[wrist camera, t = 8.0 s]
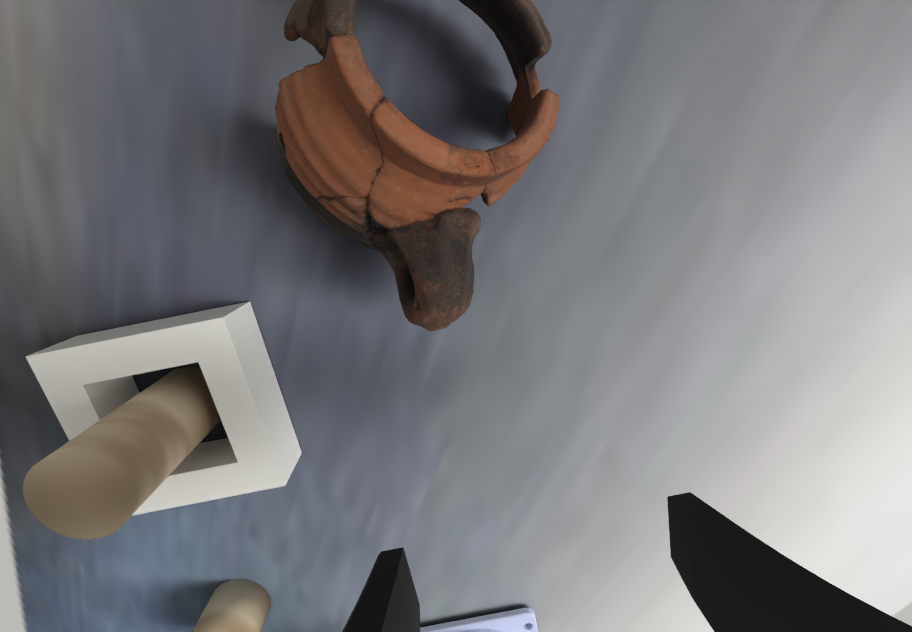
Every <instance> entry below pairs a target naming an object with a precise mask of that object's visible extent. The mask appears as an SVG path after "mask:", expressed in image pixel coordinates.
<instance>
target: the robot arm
mask: <svg viewBox="0 0 912 632" xmlns="http://www.w3.org/2000/svg"><path fill="white" fill-rule="evenodd" d="M668 514H669V531H670V548H671V558H672V560H673V562H674V564H675V566H676V568H677V570H678V572H679V573H680V575H681V577H682V579H683V581H684V583H685V585H686V587H687V589H688V591H689V592H690V594H691V596H692V598H693V599H694V601H695V603H696V604H697V606H698V607H699V609H700V610H701V612H702V613H703V615H704V616H705V618H706V619H707V621H708V623H709V624H710V626H711V627H712V629H713V630H714V632H912V626H910V625H908V624H906V623H904V622H902V621H899V620H898V619H896V618H894V617H892V616H890V615H888V614H886V613H884V612H882V611H880V610H878V609H876V608H875V607H873V606H871V605H869V604H867V603H865V602H863V601H861V600H859V599H858V598H856V597H854V596H852V595H850V594H848V593H846V592H845V591H843V590H841V589H839V588H837V587H836V586H834V585H832V584H830V583H829V582H827V581H825V580H823V579H822V578H820V577H818V576H817V575H815V574H813V573H812V572H810V571H808V570H807V569H805V568H803V567H802V566H800V565H798V564H797V563H795V562H793V561H792V560H790V559H789V558H787V557H785V556H784V555H782V554H781V553H779V552H777V551H776V550H774V549H773V548H771V547H770V546H768V545H767V544H765V543H764V542H762V541H761V540H759V539H757V538H756V537H754V536H753V535H751V534H750V533H748V532H747V531H745V530H744V529H743V528H741V527H740V526H738V525H737V524H735V523H734V522H732V521H731V520H729V519H728V518H726V517H725V516H724V515H722V514H721V513H719V512H718V511H716V510H715V509H713V508H712V507H711V506H709V505H708V504H706V503H705V502H703V501H702V500H700V499H699V498H698V497H696V496H695V495H693V494H692V493H690V492H689V493H684V494H679V495H674V496H669V497H668ZM343 632H538V629H537V623H536V618H535V613H534V611H533V610H532V609H530V608H521V609H515V610H510V611H505V612H500V613H494V614H489V615H484V616H479V617H473V618H468V619H463V620H458V621H452V622H447V623H442V624H437V625H431V626H426V627H421V628H420V605H419V601H418V598H417V594H416V591H415V587H414V584H413V580H412V577H411V573H410V569H409V566H408V562H407V559H406V555H405V552H404V548H398V549H393V550H387V551H382V552H381V553H380V554H379V555H378V557H377V559H376V562H375V564H374V567H373V569H372V571H371V573H370V576H369V578H368V580H367V582H366V584H365V587H364V589H363V591H362V593H361V595H360V597H359V599H358V602H357V604H356V606H355V608H354V610H353V612H352V614H351V616H350V618H349V620H348V622H347V624H346V626H345V628H344V630H343Z"/></svg>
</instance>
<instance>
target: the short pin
mask: <svg viewBox="0 0 912 632" xmlns="http://www.w3.org/2000/svg"><path fill="white" fill-rule="evenodd" d="M270 606H271V599H270V596H269V594H268V592H267V591H266V590H265V589H264V588H263V587H262V586H261V585H259V584H257V583H255V582H253V581H250V580H246V579H233V580H228V581H226V582H224V583H222V584H220V585H219V586H218V587H217V588H216V589H215V591H214V593H213V594H212V596H211V598H210V600H209V602H208V603H207V605H206V607H205V609H204V611H203V612H202V614H201V616H200V618H199V620H198V622H197V623H196V625H195V627H194V629H193V631H192V632H261V630H262V627H263V625H264V622H265V620H266V617H267V614H268V612H269V609H270Z"/></svg>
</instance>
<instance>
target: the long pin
mask: <svg viewBox="0 0 912 632" xmlns="http://www.w3.org/2000/svg"><path fill="white" fill-rule="evenodd" d="M220 420H221V418H220V416H219V413H218V411H217V408H216V406H215V403H214V401H213V398H212V395H211V393H210V390H209V388H208V385H207V383H206V380H205V378H204V375H203V373H202V370H201V368H200V367H196V366H184V367H180V368H177V369H174V370H173V371H171V372H170V373H168V374H167V375H165V376H164V377H162V378H161V379H159V380H158V381H156V382H155V383H153V384H152V385H151V386H149V387H148V388H146V389H145V390H143V391H142V392H140V393H139V394H137V395H136V396H134V397H133V398H132V399H130V400H129V401H127V402H126V403H124V404H123V405H121V406H120V407H118V408H117V409H115V410H114V411H113V412H111V413H110V414H108V415H107V416H105V417H104V418H102V419H101V420H99V421H98V422H96V423H95V424H94V425H92V426H91V427H89V428H88V429H86V430H85V431H83V432H82V433H80V434H79V435H77V436H76V437H75V438H73V439H72V440H70V441H69V442H67V443H66V444H64V445H63V446H61V447H60V448H58V449H57V450H56V451H54V452H53V453H51V454H50V455H48V456H47V457H45V458H44V459H42V460H41V461H40V462H38V463H37V464H35V465H34V466H33V467H32V468H31V469H30V470H29V472H28V473H27V475H26V477H25V480H24V483H23V495H24V499H25V502H26V504H27V506H28V508H29V510H30V511H31V512H32V514H33V515H34V516H35V517H36V518H37V519H38V520H39V521H40V522H41V523H42V524H43V525H45V526H46V527H48V528H49V529H51V530H53V531H55V532H57V533H59V534H62V535H65V536H68V537H72V538H77V539H96V538H101V537H105V536H107V535H110V534H112V533H114V532H115V531H117V530H118V529H119V528H120V527H121V526H122V525H123V524H124V523H125V522H126V521H127V520H128V519H129V518H130V517H131V516H132V514H133V513H134V512H135V511H136V510H137V509H138V508H139V507H140V506H141V505H142V504H143V503H144V502H145V501H146V500H147V498H148V497H149V496H150V495H151V494H152V493H153V492H154V491H155V490H156V489H157V488H158V487H159V486H160V485H161V484H162V482H163V481H164V480H165V479H166V478H167V477H168V476H169V475H170V474H171V473H172V472H173V471H174V470H175V469H176V467H177V466H178V465H179V464H180V463H181V462H182V461H183V460H184V459H185V458H186V457H187V456H188V455H189V454H190V453H191V451H192V450H193V449H194V448H195V447H196V446H197V445H198V444H199V443H200V442H201V441H202V440H203V439H204V438H205V436H206V435H207V434H208V433H209V432H210V431H211V430H212V429H213V428H214V427H215V426H216V425H217V424H218V423H219V422H220Z"/></svg>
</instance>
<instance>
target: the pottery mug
mask: <svg viewBox="0 0 912 632" xmlns="http://www.w3.org/2000/svg"><path fill="white" fill-rule="evenodd" d="M459 1H460V2H461V3H463V4H464V5H465V6H467V7H468V8H469V9H471V10H472V11H473V12H474V13H475V14H477V15H478V16H479V17H480V18H481V19H482V20H483V21H484V22H485V23H486V24H487V25H488V26H489V27H490V28H491V29H492V30H493V32H494V33H495V35H496V37H497V38H498V40H499V41H500V43H501V45H502V47H503V49H504V51H505V53H506V55H507V58H508V60H509V63H510V65H511V67H512V70H513V73H514V76H515V78H516V81H517V86H516V90H515V92H514V95H513V98H512V101H511V104H510V106H509V110H508V116H509V120H510V123H511V126H512V129H513V131H514V133H515V135H516V137H515V138H514V139H513V140H512V141H510V142H509V143H507V144H504V145H502V146H499V147H496V148H493V149H489V150H487V151H481V150H470V149H465V148H461V147H458V146H455V145H452V144H449V143H446V142H444V141H442V140H440V139H438V138H436V137H433V136H432V135H430V134H429V133H427V132H425V131H424V130H422V129H421V128H419V127H418V126H417V125H415V124H414V123H412V122H411V121H410V120H409V119H408V118H406V117H405V116H404V115H403V114H402V113H401V112H400V111H399V110H398V109H397V108H396V107H395V106H394V105H393V104H392V103H391V102H390V101H389V100H388V99H387V98H386V97H385V95H384V93H383V91H382V90H381V88H380V87H379V86H378V84H377V82H376V81H375V79H374V78H373V76H372V74H371V72H370V70H369V68H368V66H367V64H366V61H365V59H364V56H363V53H362V51H361V47H360V44H359V42H358V39H357V38H356V36H355V8H356V2H357V0H296V1H295V2H294V4H293V6H292V8H291V10H290V12H289V14H288V16H287V18H286V21H285V25H284V34H285V37H286V39H287V40H289V41H295V40H297V39H298V38H300V37H302V38H303V39H304V40H306V41H307V42H309V43H310V44H312V45H313V46H314V47H315V48H316V50H317V51H318V52H319V53H320V54H321V55H322V56H323V60H322V61H321V62H319V63H317V64H312V65H308V66H305V67H304V68H303V70H301V71H296V72H294V73H292V74H291V75H289V76H288V77H286V78H284V79H282V80H281V81H280V82H279V93H278V96H277V102H276V106H275V110H276V115H277V119H278V125H277V138H278V148H279V151H280V157H281V161H282V163H283V166H284V169H285V172H286V175H287V177H288V179H289V181H290V183H291V184H292V186H293V187H294V188H295V190H296V191H297V192H298V193H299V194H300V196H301V197H302V199H303V200H304V202H305V203H306V204H307V206H308V207H309V208H310V209H311V211H312V212H313V213H314V214H315V215H316V216H317V217H318V218H320V219H321V220H322V221H323V222H324V223H325V224H326V225H328V226H329V227H331V228H332V229H334V230H335V231H337V232H338V233H340V234H342V235H344V236H347V237H349V238H351V239H353V240H355V241H357V242H359V243H360V244H362V245H363V246H365V247H367V248H375V249H377V250H379V251H380V252H381V254H382V255H383V256H384V257H385V259H386V260H387V261H388V262H389V264H390V266H391V267H392V269H393V271H394V273H395V278H396V283H397V287H398V293H399V298H400V302H401V305H402V308H403V311H404V314H405V316H406V318H407V319H408V321H409V322H411V323H412V324H415V325H418V326H421V327H423V328H426V329H427V330H429V331H436V330H439V329H443V328H446V327H447V326H449V325H450V324H451V323H452V322H454V321H455V320H457V319H458V318H459V317H460V316H461V315H462V314H464V313H465V312H466V310H467V309H468V307H469V305H470V302H471V299H472V295H473V284H474V266H473V261H472V244H473V240H474V238H475V236H476V235H477V234H478V232H479V228H480V224H481V219H480V216H479V215H478V213H477V212H476V211H474V210H472V209H470V208H462V207H463V206H464V205H466V204H468V203H470V202H471V201H472V199H473V198H474V197H476V196H477V195H479V194H481V196H482V199H483V201H484V203H485V204H487V205H488V206H490V205H491V204H493V203H495V202H496V201H497V200H499V199H500V198H501V197H502V196H503V195H504V194H505V193H506V192H507V191H508V190H509V189H510V188H511V187H512V186H513V184H514V183H516V182H517V181H518V180H519V179H520V177H521V176H522V174H523V173H524V172H525V170H526V168H527V167H528V165H529V164H530V161H531V160H532V159H533V158H534V157H535V156H536V155H537V154H538V153H539V152H540V151H541V150H542V148H543V147H544V145H545V144H546V142H547V141H548V139H549V137H550V135H551V133H552V131H553V130H554V128H555V123H556V119H557V114H558V109H559V95H558V94H556V93H554V92H552V91H551V90H549V89H545V90H540V85H539V81H538V77H537V73H536V70H535V64H536V62H537V61H538V60H539V59H540V58H542V57H543V56H544V55H545V54H547V53H548V51H549V49H550V46H551V38H550V34H549V31H548V30H547V28H546V26H545V24H544V20H543V19H542V17H541V15H540V13H539V11H538V10H537V8H536V7H535V6H534V5H533V3H532V1H531V0H459ZM370 215H371V216H372V217H373V219H374V220H375V221H376V222H377V223H378V224H379V225H381V226H383V227H380V228H376V227H374V226H372V225H371V217H370ZM384 227H385V228H384Z"/></svg>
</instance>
